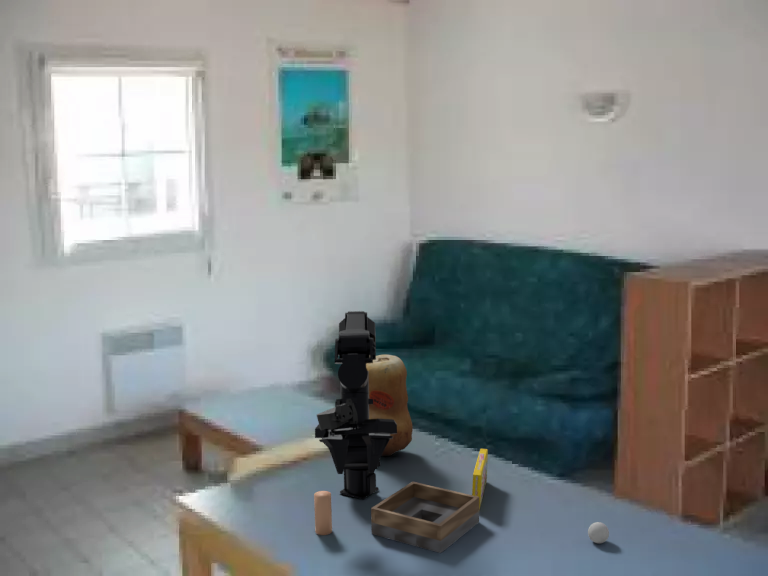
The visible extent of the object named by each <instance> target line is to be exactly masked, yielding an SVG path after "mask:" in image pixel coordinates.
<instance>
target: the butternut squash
mask: <svg viewBox="0 0 768 576" xmlns="http://www.w3.org/2000/svg"><path fill="white" fill-rule="evenodd" d="M366 368H367V370H368V371H369V399H373V404H370V405H369V419H377V418H378V419H394V421H395V422H396V424H397V434H390V436H393V439H390V440H389V442H388V444H387V446H386V448H385V450H384V451H383V454H382V456H384V457H385V456H386V457H387V456H388V457H391V456H392V455H393V454H395V453H397V452H399V451H403V450H405V449H406V448H407V447H408V446H409V444H411V442H412V440H413V430H414V428H413V422H412V417H411V415H410V412H409V408H408V401H409V396H408V391H407V376H408V371H407V368H406V365H405V363H404V362H403V360H402V359H401V358H400V357H398V356H397V355H392V354H379V355H376V360H373V363H367V364H366ZM382 456H381V457H382Z"/></svg>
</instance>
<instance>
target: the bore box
mask: <svg viewBox="0 0 768 576" xmlns="http://www.w3.org/2000/svg"><path fill="white" fill-rule="evenodd" d="M370 516H371V517H370V524H371V535H374V536H377V537H381V538H385V539H389V540H392V541H396V542H399V543H402V544H403V543H404V544H407V545H410V546H413V547H418V548H420V549H421V548H422V549H424V550H428V551H432V552H436V553H439V554H442V553H443V552H445V550H447V549H448V548H450V546H452V545H453V544H454V543H455V542H457V541H458V540H459V539H460V538H462V537H463V536H464V535H465V534H466V533H468V532H469V531H471V529H473V528H474V527H475V526H476V525H478V524H479V523H480V510H479V497H477V496H473V495H472V494H468V493H464V492H459V491H455V490H451V489H446V488H442V487H438V486H433V485H428V484H426V483H420V482H416V481H411V482H410V483H408V484H406V485H405V486H404V487H402V488H400V489H399V490H397V491H395V492H394V493H393V494H390V495H389V496H388V497H386V498H385V499H383V500H381V501H380V502H378V503H377V504H376V505H374V506H372V507H370Z"/></svg>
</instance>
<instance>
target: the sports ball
mask: <svg viewBox="0 0 768 576" xmlns="http://www.w3.org/2000/svg"><path fill="white" fill-rule="evenodd" d="M587 535H588V537H589V539H590V540H591V541H592V542H593V543H595V544H603V543H605V542H606V541H607V540H608V538H609V537H610V530H609V528H608V526H607V525H606V524H605V523H603V522H601V521H599V522H598V521H596V522H595V521H594V522H593V523H591V524H590V525H589V527H588V530H587Z"/></svg>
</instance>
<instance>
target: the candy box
mask: <svg viewBox="0 0 768 576" xmlns="http://www.w3.org/2000/svg"><path fill="white" fill-rule="evenodd" d="M488 452H489V449H487V448H480V449H479V452H478V456H477V459H476V463H475V467H474V470H473V473H472V484H471V485H472V488H471V495H473V496H477V497H479V511H480V509H481V505H482V502H483V496H484V494H485V488H486V484H487V481H488V460H489V458H488V457H489V456H488V455H489V453H488Z"/></svg>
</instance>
